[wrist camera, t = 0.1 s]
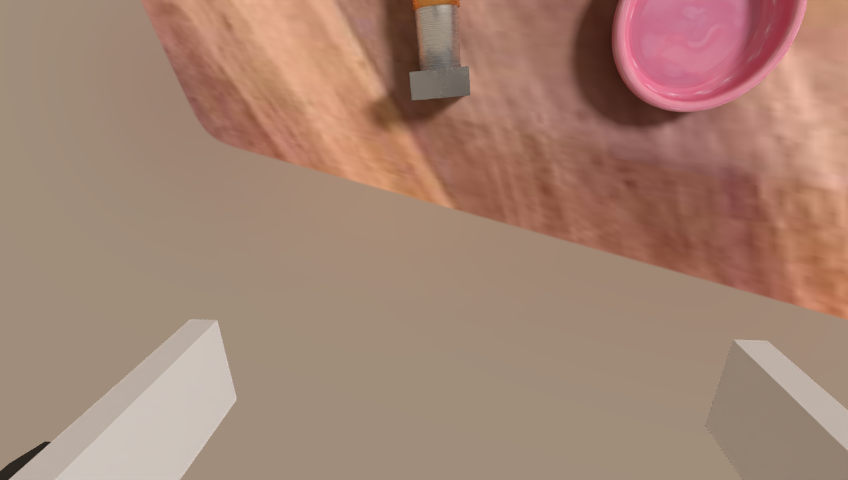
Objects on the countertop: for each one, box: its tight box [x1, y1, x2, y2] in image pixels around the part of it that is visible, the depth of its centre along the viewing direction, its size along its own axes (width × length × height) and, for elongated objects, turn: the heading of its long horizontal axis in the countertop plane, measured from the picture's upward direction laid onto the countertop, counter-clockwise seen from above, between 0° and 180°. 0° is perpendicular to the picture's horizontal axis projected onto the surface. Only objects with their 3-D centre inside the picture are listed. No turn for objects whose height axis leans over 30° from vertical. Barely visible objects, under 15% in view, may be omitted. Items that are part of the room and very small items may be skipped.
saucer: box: [612, 0, 807, 112], centre depth 29 cm, size 12×12×3 cm
